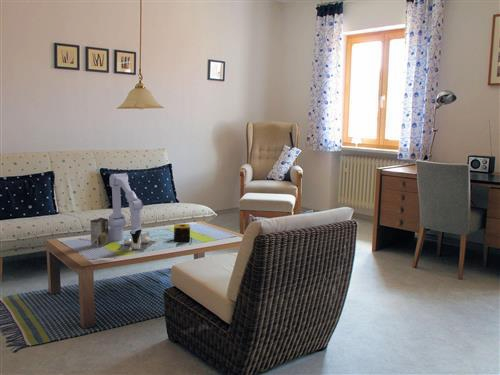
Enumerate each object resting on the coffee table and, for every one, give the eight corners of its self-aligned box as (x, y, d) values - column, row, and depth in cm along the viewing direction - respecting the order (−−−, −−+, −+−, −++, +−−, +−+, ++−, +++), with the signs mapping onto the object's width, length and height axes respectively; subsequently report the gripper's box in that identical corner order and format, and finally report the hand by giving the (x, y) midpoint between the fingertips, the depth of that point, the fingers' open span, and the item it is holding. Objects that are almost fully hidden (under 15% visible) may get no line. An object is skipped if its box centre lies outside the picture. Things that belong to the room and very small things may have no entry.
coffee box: (101, 242, 317) (100, 217, 315) (109, 244, 314) (108, 218, 312) (90, 245, 309) (90, 220, 307) (98, 247, 306) (98, 221, 304)
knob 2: (143, 243, 311) (143, 234, 310) (138, 242, 315) (138, 232, 314) (150, 242, 316) (150, 232, 315) (146, 240, 319) (145, 231, 318)
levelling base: (116, 251, 299) (116, 244, 298) (132, 241, 322) (132, 234, 321) (142, 254, 296) (142, 246, 295) (156, 243, 319) (156, 236, 319)
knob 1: (129, 249, 300) (129, 239, 299) (133, 246, 304) (133, 236, 303) (138, 249, 299) (138, 239, 298) (142, 247, 304) (142, 237, 303)
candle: (174, 242, 322) (174, 227, 320) (173, 238, 332) (173, 223, 330) (190, 242, 324) (190, 227, 322) (189, 238, 334) (189, 223, 332)
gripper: (139, 223, 292) (139, 246, 294) (145, 217, 306) (145, 239, 308) (127, 222, 292) (127, 245, 294) (133, 217, 306) (133, 239, 308)
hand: (136, 242), depth 301 cm, fingers closed on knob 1, 2 cm apart
